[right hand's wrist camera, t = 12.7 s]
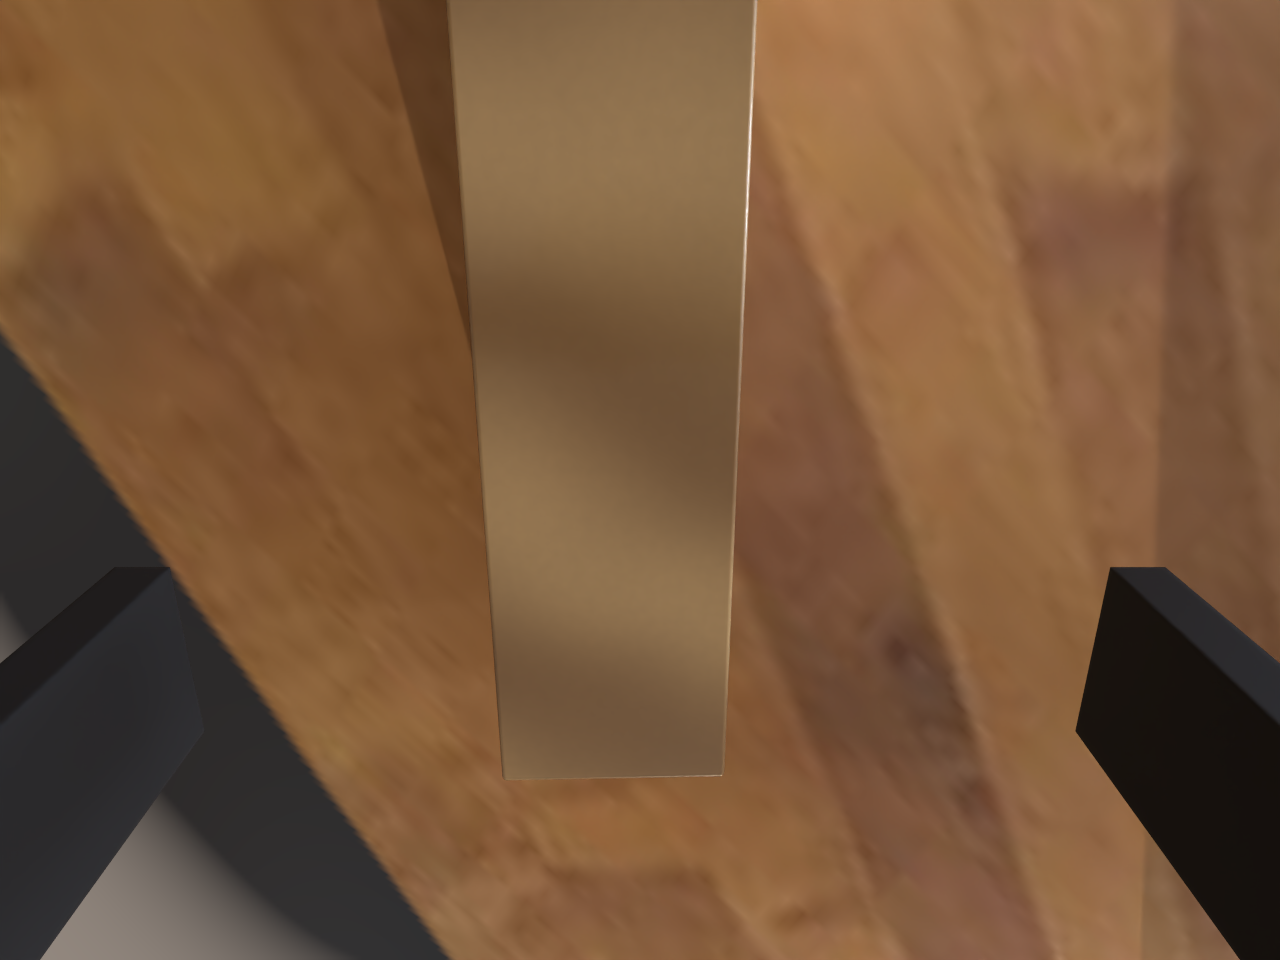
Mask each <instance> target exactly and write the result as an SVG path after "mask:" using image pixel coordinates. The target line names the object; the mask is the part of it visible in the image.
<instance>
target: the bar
mask: <svg viewBox="0 0 1280 960" xmlns="http://www.w3.org/2000/svg"><path fill="white" fill-rule="evenodd" d="M446 9H447V23H448V36H449V50H450V64H451V77H452V91H453V105H454V119H455V132H456V146H457V160H458V173H459V187H460V201H461V215H462V228H463V242H464V256H465V269H466V283H467V297H468V310H469V324H470V338H471V352H472V365H473V379H474V393H475V406H476V420H477V434H478V447H479V461H480V475H481V489H482V502H483V516H484V530H485V543H486V557H487V571H488V585H489V598H490V612H491V626H492V639H493V653H494V667H495V680H496V694H497V708H498V722H499V735H500V749H501V763H502V776H503V778H504V780H553V779H606V778H659V777H712V776H723V774H724V766H725V743H726V720H727V697H728V673H729V650H730V627H731V604H732V581H733V557H734V534H735V511H736V488H737V464H738V441H739V418H740V395H741V372H742V348H743V325H744V302H745V279H746V255H747V232H748V209H749V186H750V163H751V139H752V116H753V93H754V70H755V46H756V23H757V0H446Z"/></svg>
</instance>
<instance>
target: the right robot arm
mask: <svg viewBox="0 0 1280 960" xmlns="http://www.w3.org/2000/svg"><path fill="white" fill-rule="evenodd" d="M203 733H204V726H203V722H202V717H201V712H200V707H199V703H198V698H197V693H196V689H195V684H194V679H193V675H192V670H191V665H190V660H189V656H188V651H187V646H186V642H185V637H184V632H183V628H182V623H181V618H180V613H179V609H178V604H177V599H176V595H175V590H174V585H173V580H172V576H171V571H170V567H115V568H113V569H112V570H111V571H110V572H109V573H107V574H106V575H105V576H104V577H103V578H101V579H100V580H99V581H98V582H97V583H96V584H94V585H93V586H92V587H91V588H90V589H88V590H87V591H86V592H85V593H84V594H83V595H81V596H80V597H79V598H78V599H76V600H75V601H74V602H73V603H72V604H71V605H69V606H68V607H67V608H66V609H65V610H63V611H62V612H61V613H60V614H59V615H57V616H56V617H55V618H54V619H53V620H52V621H50V622H49V623H48V624H47V625H46V626H44V627H43V628H42V629H41V630H40V631H38V632H37V633H36V634H35V635H34V636H32V637H31V638H30V639H29V640H28V641H26V642H25V643H24V644H23V645H22V646H20V647H19V648H18V649H17V650H16V651H15V652H13V653H12V654H11V655H10V656H9V657H7V658H6V659H5V660H4V661H3V662H1V663H0V960H40V959H41V958H42V956H43V955H44V953H45V952H46V951H47V949H48V948H49V947H50V945H51V944H52V942H53V941H54V939H55V938H56V937H57V935H58V934H59V933H60V931H61V930H62V928H63V927H64V926H65V924H66V923H67V922H68V920H69V919H70V917H71V916H72V915H73V913H74V912H75V910H76V909H77V908H78V906H79V905H80V903H81V902H82V901H83V899H84V898H85V897H86V895H87V894H88V892H89V891H90V890H91V888H92V887H93V885H94V884H95V883H96V881H97V880H98V878H99V877H100V876H101V874H102V873H103V872H104V870H105V869H106V867H107V866H108V865H109V863H110V862H111V860H112V859H113V858H114V856H115V855H116V853H117V852H118V851H119V849H120V848H121V846H122V845H123V844H124V842H125V841H126V839H127V838H128V837H129V835H130V834H131V833H132V831H133V830H134V828H135V827H136V826H137V824H138V823H139V822H140V820H141V819H142V817H143V816H144V815H145V813H146V812H147V810H148V809H149V808H150V806H151V805H152V803H153V802H154V801H155V799H156V798H157V797H158V795H159V794H160V792H161V791H162V790H163V788H164V787H165V785H166V784H167V783H168V781H169V780H170V778H171V777H172V776H173V774H174V773H175V771H176V770H177V769H178V767H179V766H180V765H181V763H182V762H183V760H184V759H185V758H186V756H187V755H188V753H189V752H190V751H191V749H192V748H193V747H194V745H195V744H196V742H197V741H198V739H199V738H200V737H201V735H202V734H203ZM1076 733H1077V734H1078V735H1079V737H1080V738H1081V740H1082V741H1083V742H1084V744H1085V745H1086V746H1087V748H1088V749H1089V751H1090V752H1091V753H1092V755H1093V756H1094V758H1095V759H1096V760H1097V762H1098V763H1099V765H1100V766H1101V767H1102V769H1103V770H1104V772H1105V773H1106V774H1107V776H1108V777H1109V778H1110V780H1111V781H1112V783H1113V784H1114V785H1115V787H1116V788H1117V790H1118V791H1119V792H1120V794H1121V795H1122V797H1123V798H1124V799H1125V801H1126V802H1127V803H1128V805H1129V806H1130V808H1131V809H1132V810H1133V812H1134V813H1135V815H1136V816H1137V817H1138V819H1139V820H1140V822H1141V823H1142V824H1143V826H1144V827H1145V828H1146V830H1147V831H1148V833H1149V834H1150V835H1151V837H1152V838H1153V840H1154V841H1155V842H1156V844H1157V845H1158V847H1159V848H1160V849H1161V851H1162V852H1163V853H1164V855H1165V856H1166V858H1167V859H1168V860H1169V862H1170V863H1171V865H1172V866H1173V867H1174V869H1175V870H1176V872H1177V873H1178V874H1179V876H1180V877H1181V878H1182V880H1183V881H1184V883H1185V884H1186V885H1187V887H1188V888H1189V890H1190V891H1191V892H1192V894H1193V895H1194V897H1195V898H1196V899H1197V901H1198V902H1199V903H1200V905H1201V906H1202V908H1203V909H1204V910H1205V912H1206V913H1207V915H1208V916H1209V917H1210V919H1211V920H1212V922H1213V923H1214V924H1215V926H1216V927H1217V928H1218V930H1219V931H1220V933H1221V934H1222V935H1223V937H1224V938H1225V940H1226V941H1227V942H1228V944H1229V945H1230V947H1231V948H1232V949H1233V951H1234V952H1235V953H1236V955H1237V956H1238V958H1239V959H1240V960H1280V663H1279V662H1277V661H1276V660H1275V659H1274V658H1273V657H1271V656H1270V655H1269V654H1268V653H1267V652H1265V651H1264V650H1263V649H1262V648H1261V647H1260V646H1258V645H1257V644H1256V643H1255V642H1254V641H1252V640H1251V639H1250V638H1249V637H1248V636H1246V635H1245V634H1244V633H1243V632H1242V631H1240V630H1239V629H1238V628H1237V627H1236V626H1235V625H1233V624H1232V623H1231V622H1230V621H1229V620H1227V619H1226V618H1225V617H1224V616H1223V615H1221V614H1220V613H1219V612H1218V611H1217V610H1215V609H1214V608H1213V607H1212V606H1211V605H1210V604H1208V603H1207V602H1206V601H1205V600H1204V599H1202V598H1201V597H1200V596H1199V595H1198V594H1196V593H1195V592H1194V591H1193V590H1192V589H1190V588H1189V587H1188V586H1187V585H1186V584H1184V583H1183V582H1182V581H1181V580H1180V579H1179V578H1177V577H1176V576H1175V575H1174V574H1173V573H1171V572H1170V571H1169V570H1168V569H1167V568H1165V567H1110V571H1109V576H1108V581H1107V585H1106V590H1105V595H1104V599H1103V604H1102V609H1101V613H1100V618H1099V623H1098V627H1097V632H1096V637H1095V642H1094V646H1093V651H1092V656H1091V660H1090V665H1089V670H1088V674H1087V679H1086V684H1085V689H1084V693H1083V698H1082V703H1081V707H1080V712H1079V717H1078V721H1077V726H1076Z"/></svg>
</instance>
